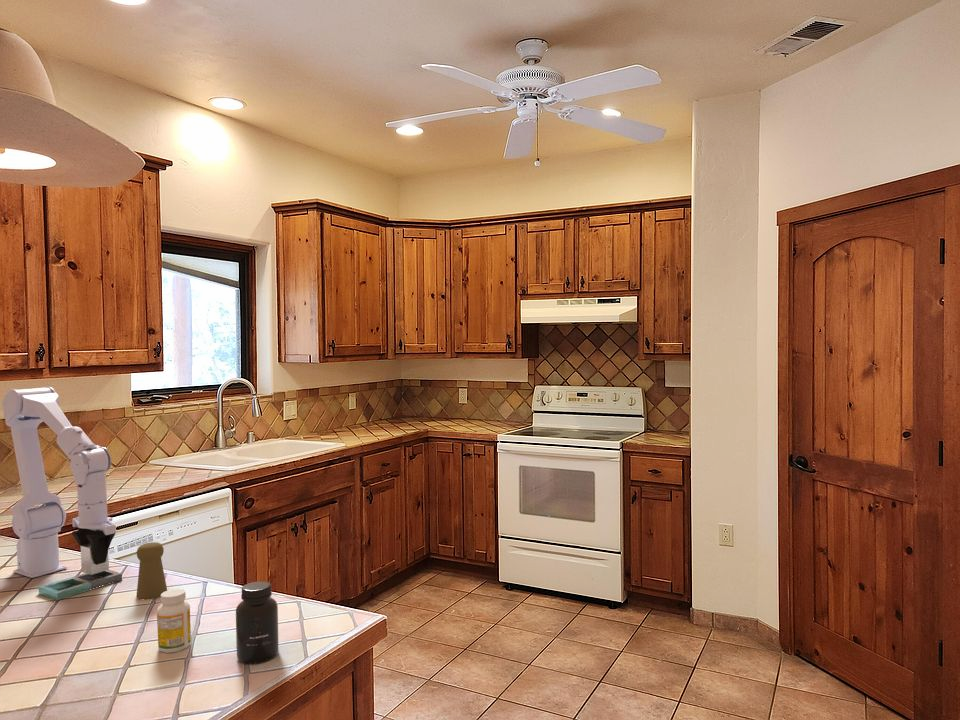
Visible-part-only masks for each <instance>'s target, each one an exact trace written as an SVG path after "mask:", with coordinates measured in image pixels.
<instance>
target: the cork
mask: <svg viewBox="0 0 960 720" xmlns="http://www.w3.org/2000/svg"><path fill="white" fill-rule="evenodd" d="M164 550H165V549H164V546H163V544H162V543H160V542H157V541H154V542H146V543H143V544H141V545H139V546H138V548H137V549H136V557H137V559H138V560H139V566H138V578H137V586H136V587H137V588H136V599H137V598H138V599H137V600H140V599H144V600H143V601H147V600H148V599H149V600H156V599H159V598H161V594H162V593H163V592H165V591H168V587H167V582H166V577H165V571H164V566H163V560H162V557H163V555H164Z"/></svg>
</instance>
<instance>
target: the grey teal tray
mask: <svg viewBox="0 0 960 720" xmlns="http://www.w3.org/2000/svg"><path fill="white" fill-rule="evenodd" d="M100 576H103V577H100ZM96 577H99V578H96ZM93 578H95V579H93ZM90 579H92V580H90ZM87 580H89V581H87ZM119 580H121V581H123V573H121V572H118V571H115V570H111V569H109V570H106V571H103V572H99V573H96V574H92V575H90V574H87V573H82V574H78V575H74V576H71V577H68V578H65V579H60V580H58V581H54V582H50V583H47V584H43V585H41V586H38V594H39V595H41V596H43V597H47V598H50V599H52V600H56V601H61V600H63V598H64V599H66V597H67V598H70V597H73V596H75V594H76V595H79V594H82V592H83V593H85V592H84V591H86V592H88V591H87V590H89V591H91V590H90V589H92V590H94V589H93V588H95V589H97V588H96V587H98V588H100V587H99V586H102V585H105V586H106V584H108V585H110V584H109V583H111V584H113V583H112V582H114V583H117V582H120V581H119ZM116 581H117V582H116ZM71 585H72V586H71ZM73 585H74V586H73ZM68 586H69V587H68ZM65 587H66V588H65ZM102 587H103V586H102ZM78 593H79V594H78ZM72 595H73V596H72ZM69 596H70V597H69Z"/></svg>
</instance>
